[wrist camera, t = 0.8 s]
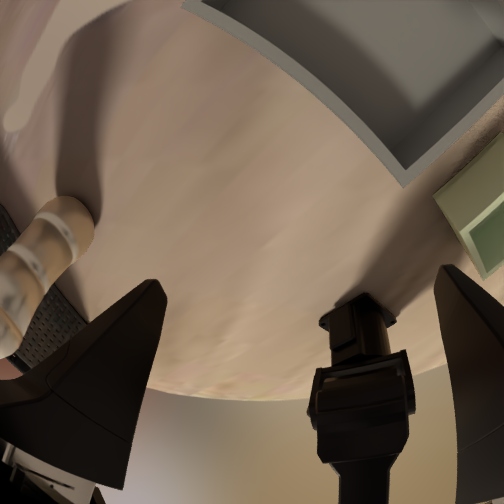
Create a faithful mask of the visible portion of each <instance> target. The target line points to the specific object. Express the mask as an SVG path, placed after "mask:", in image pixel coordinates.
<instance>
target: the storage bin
mask: <svg viewBox="0 0 504 504" xmlns="http://www.w3.org/2000/svg"><path fill="white" fill-rule="evenodd" d="M19 236H20V234H19V232H18V230H17V229H16V227H15V225H14V223H13V222H12V220H11V218H10V217H9V216H8V214H7V212H6V211H5V209H4V208H3V207H2V206H1V205H0V256H1V255H2V254H3V253H4V252H6V251H7V249H8V248H9V247H10V246H11V245H13V244H14V242H15V241H16V240H17V239H18V237H19ZM85 326H86V323H85V322H84V320H83V319H82V318H81V317H80V316H79V315H78V314H77V312H76V311H75V310H74V309H73V308H72V306H71V305H70V304H69V303H68V302H67V300H66V299H65V298H64V297H63V295H62V294H61V293H60V292H59V290H58V289H57V288H56V286H55V285H54V284H52V285H51V287H50V288H49V290H48V291H47V293H46V294H45V295H44V297H43V299H42V301H41V302H40V304H39V306H38V307H37V309H36V311H35V313H34V315H33V317H32V319H31V321H30V324H29V326H28V328H27V331H26V333H25V335H24V336H23V340H22V342H21V344H20V346H19V349H17V350H16V351H15V352H14V353H13V354H11V355H9V356H7V357H5V358H6V359H7V360H8V361H9V362H11V364H13V366H14V367H16V368H17V369H18V370H19V371H20V372H21V373H23V374H25V373H26V372H28V371H29V370H30V369H32V368H33V367H34V366H36V365H37V364H38V363H40V362H41V361H42V360H44V359H45V358H46V357H48V356H49V355H50V354H52V353H53V352H54V351H56V350H57V349H58V348H59V347H61V346H62V345H63V344H64V343H65V342H67V341H68V340H69V339H71V338H72V337H73V336H74V335H75V334H77V333H78V332H79V331H80V330H81V329H83V328H84V327H85ZM24 337H25V338H26V339H25V338H24ZM48 345H49V346H48ZM56 346H57V347H56ZM13 355H14V356H15V357H14V356H13Z"/></svg>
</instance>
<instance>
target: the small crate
mask: <svg viewBox="0 0 504 504" xmlns="http://www.w3.org/2000/svg"><path fill="white" fill-rule="evenodd" d="M432 197H433V198H434V200H435V201H436V203H437V204H438V206H439V207H440V209H441V211H442V212H443V214H444V215H445V217H446V219H447V220H448V222H449V224H450V226H451V227H452V229H453V231H454V232H455V234H456V236H457V238H458V240H459V241H460V243H461V245H462V246H463V248H464V250H465V251H466V253H467V254H468V256H469V258H470V259H471V261H472V263H473V264H474V266H475V268H476V270H477V271H478V273H479V275H480V277H481V278H482V280H483V281H484V280H485V279H486V278H488V277H489V276H490V275H491V274H493V273H494V272H495V271H496V270H498V269H499V268H500V267H501V266H502V265H504V133H502V132H500V133H499V134H498V135H497V136H496V137H495V138H494V139H493V140H492V141H491V142H490V143H489V144H488V145H487V146H486V147H485V148H484V149H483V150H482V151H481V152H480V153H479V154H478V155H477V156H476V157H474V158H473V159H472V160H471V161H470V162H469V163H468V164H467V165H466V166H465V167H464V168H463V169H462V170H461V171H459V172H458V173H457V174H456V175H455V176H454V177H453V178H452V179H451V180H449V181H448V182H447V183H446V184H445V185H444V186H443V187H442V188H440V189H439V190H438V191H437V192H436V193H435V194H433V195H432Z"/></svg>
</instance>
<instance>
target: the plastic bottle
mask: <svg viewBox="0 0 504 504" xmlns="http://www.w3.org/2000/svg"><path fill="white" fill-rule="evenodd" d="M93 238H94V222H93V219H92V216H91V214H90V212H89V211H88V209H87V208H86V207H85V206H84V205H83V204H82V203H81V202H80V201H79V200H77V199H76V198H73V197H70V196H59V197H56V198H54V199H52V200H51V201H49V202H47V203H46V204H45V205H44V206H43V207H42V208H41V210H40V211H39V212H38V213H37V215H36V216H35V218H34V219H33V221H32V222H31V223H30V224H29V226H28V227H27V228H26V229H25V230H24V231H23V233H22V234H21V235H20V236H19V237H18V239H17V240H16V241H15V242H14V244H13V245H11V246H10V247H9V248H8V249H7V251H6V252H4V253H3V254H2V255H1V256H0V359H2V358H4V357H7V356H9V355H11V354H13V353H14V352H15V351H16V350H17V349H18V348H19V346H20V344H21V342H22V340H23V336H24V335H25V333H26V331H27V328H28V326H29V324H30V321H31V319H32V317H33V315H34V313H35V311H36V309H37V307H38V306H39V304H40V302H41V301H42V299H43V297H44V295H45V294H46V293H47V291H48V290H49V288H50V287H51V285H52V284H53V283H54V282H55V281H56V280H57V279H58V277H59V276H60V275H61V274H62V273H63V272H64V271H65V270H66V269H67V268H68V267H69V266H70V265H72V264H73V263H74V262H76V261H77V260H78V259H79V258H80V257H81V256H82V255H83V254H84V253H85V252H86V251H87V249H88V248H89V246H90V244H91V242H92V240H93Z"/></svg>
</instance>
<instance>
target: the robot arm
mask: <svg viewBox="0 0 504 504" xmlns="http://www.w3.org/2000/svg"><path fill="white" fill-rule="evenodd" d="M434 295H435V300H436V306H437V311H438V317H439V323H440V330H441V336H442V340H443V345H444V349H445V354H446V358H447V363H448V368H449V374H450V380H451V386H452V393H453V400H454V409H455V417H456V431H457V452H458V453H457V489H456V502H455V503H456V504H476V503H481V502H486V501H489V502H487V503H485V504H504V306H503V305H501V304H500V303H499V302H498V301H497V300H496V299H495V298H494V297H492V296H491V295H490V294H489V293H488V292H487V291H485V290H484V289H483V288H482V287H481V286H479V285H478V284H477V283H476V282H474V281H473V280H472V279H471V278H470V277H468V276H467V275H466V274H464V273H463V272H462V271H461V270H459V269H458V268H457V267H455V266H454V265H452V264H447V265H441V266H440V268H439V271H438V274H437V277H436V281H435V284H434ZM166 307H167V296H166V294H165V292H164V290H163V288H162V286H161V284H160V282H159V281H158V280H157V279H147V280H145V281H143V282H142V283H141V284H139V285H138V286H137V287H135V288H134V289H133V290H131V291H130V292H129V293H127V294H126V295H125V296H123V297H122V298H121V299H120V300H118V301H117V302H116V303H114V304H113V305H112V306H110V307H109V308H108V309H107V310H105V311H104V312H103V313H102V314H100V315H99V316H98V317H96V318H95V319H94V320H93V321H91V322H90V323H89V324H88V325H86V326H85V327H84V328H83V329H81V330H80V331H79V332H78V333H77V334H75V335H74V336H73V337H72V338H71V339H69V340H68V341H67V342H65V343H64V344H63V345H62V346H61V347H59V348H58V349H57V350H56V351H54V352H53V353H52V354H50V355H49V356H48V357H46V358H45V359H44V360H42V361H41V362H40V363H38V364H37V365H36V366H34V367H33V368H32V369H30V370H29V371H28V372H26V373H25V374H23V375H22V376H20V377H18V378H16V379H11V380H0V504H106V503H105V501H104V499H103V497H102V495H101V492H100V490H99V488H98V487H96V486H95V485H96V483H98V484H101V485H104V486H108V487H111V488H114V489H118V490H123V487H124V481H125V476H126V471H127V466H128V461H129V456H130V451H131V447H132V442H133V438H134V433H135V429H136V425H137V421H138V417H139V413H140V409H141V405H142V401H143V397H144V393H145V390H146V386H147V382H148V379H149V375H150V372H151V368H152V365H153V361H154V358H155V354H156V351H157V348H158V344H159V340H160V336H161V331H162V326H163V321H164V316H165V312H166ZM396 322H397V320H396V317H395V316H394V315H392V314H391V313H390V312H389V311H388V310H387V309H386V308H385V307H383V306H382V305H381V304H380V303H379V302H378V301H377V300H376V299H374V298H373V297H372V296H371V295H370V294H369V293H363V294H361V295H360V296H358V297H356V298H355V299H353V300H352V301H350V302H348V303H347V304H345V305H344V306H342V307H340V308H339V309H337V310H335V311H334V312H332V313H330V314H329V315H327V316H325V317H324V318H322V319H320V320H319V326H320V327H321V328H323V329H325V330H326V331H328V332H329V343H330V349H331V367H326V368H322V367H321V368H316V373H315V376H314V379H313V385H312V390H311V395H310V401H309V406H308V408H307V415H308V416H309V417H310V418H311V423H312V426H313V429H314V430H317V439H318V440H317V454H318V456H319V458H320V459H321V461H322V463H329V464H330V466H331V467H332V468H333V470H334V471H335V472H336V474H337V475H338V476H339V503H338V504H389V486H390V469H391V467H392V465H393V464H394V462H395V460H396V459H397V457H398V455H399V454H400V453H401V452H402V450H403V448H404V445H405V444H406V442H407V439H408V437H409V421H408V415H411V414H415V410H416V407H415V406H416V404H415V391H414V384H413V379H412V374H411V370H410V365H409V361H408V357H407V353H406V349H404V350H400V352H396V353H393V354H391V350H390V344H389V339H388V333H387V328H388V327H390V326H392V325H394V324H395V323H396Z"/></svg>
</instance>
